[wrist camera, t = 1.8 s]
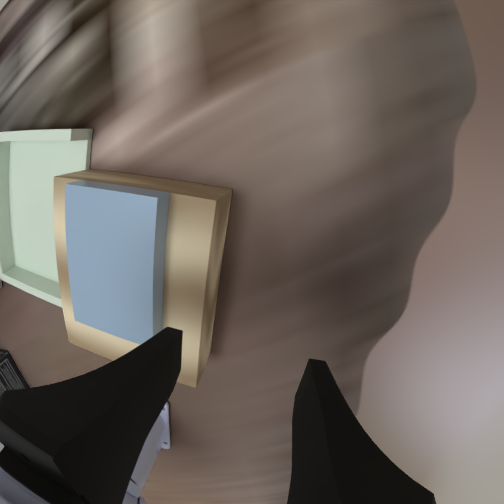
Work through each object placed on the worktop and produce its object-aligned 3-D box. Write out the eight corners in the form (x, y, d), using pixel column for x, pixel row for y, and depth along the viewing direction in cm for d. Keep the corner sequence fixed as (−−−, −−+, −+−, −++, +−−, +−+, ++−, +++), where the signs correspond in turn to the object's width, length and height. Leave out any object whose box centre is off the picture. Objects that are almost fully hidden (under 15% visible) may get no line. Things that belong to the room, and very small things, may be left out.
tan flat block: (210, 353, 23) (196, 387, 19) (94, 317, 24) (69, 342, 20) (232, 189, 19) (216, 200, 15) (89, 169, 19) (53, 176, 16)
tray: (91, 299, 23) (75, 312, 21) (15, 269, 24) (-1, 278, 22) (93, 128, 18) (71, 129, 16) (10, 131, 19) (-10, 133, 17)
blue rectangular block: (162, 335, 18) (153, 348, 17) (86, 309, 19) (74, 320, 17) (170, 192, 15) (157, 198, 14) (81, 179, 15) (65, 183, 14)
